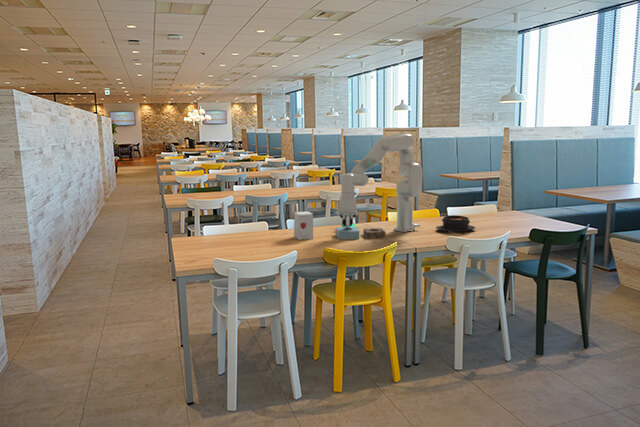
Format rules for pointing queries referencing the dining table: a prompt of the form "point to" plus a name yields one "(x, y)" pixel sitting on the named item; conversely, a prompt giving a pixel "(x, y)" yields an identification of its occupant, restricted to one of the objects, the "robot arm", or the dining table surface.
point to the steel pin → (347, 222)
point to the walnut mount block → (374, 233)
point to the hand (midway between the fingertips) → (347, 225)
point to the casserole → (455, 224)
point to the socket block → (347, 233)
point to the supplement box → (303, 225)
